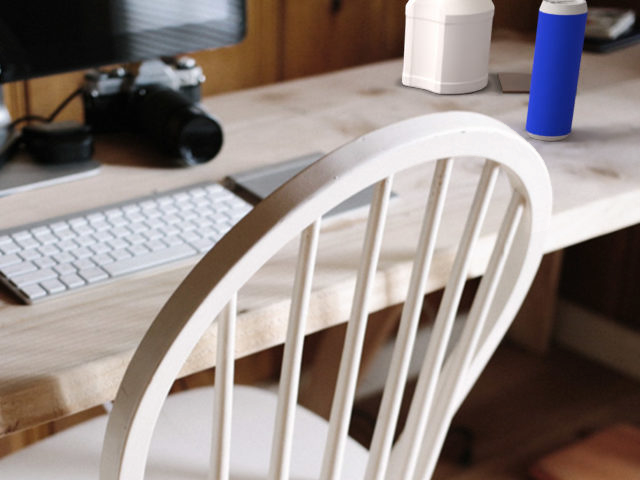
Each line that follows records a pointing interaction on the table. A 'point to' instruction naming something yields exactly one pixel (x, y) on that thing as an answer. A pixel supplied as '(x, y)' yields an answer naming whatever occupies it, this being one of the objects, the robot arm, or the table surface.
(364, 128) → the table surface
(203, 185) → the table surface
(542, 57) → the beverage can
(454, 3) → the jar
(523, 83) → the coaster
